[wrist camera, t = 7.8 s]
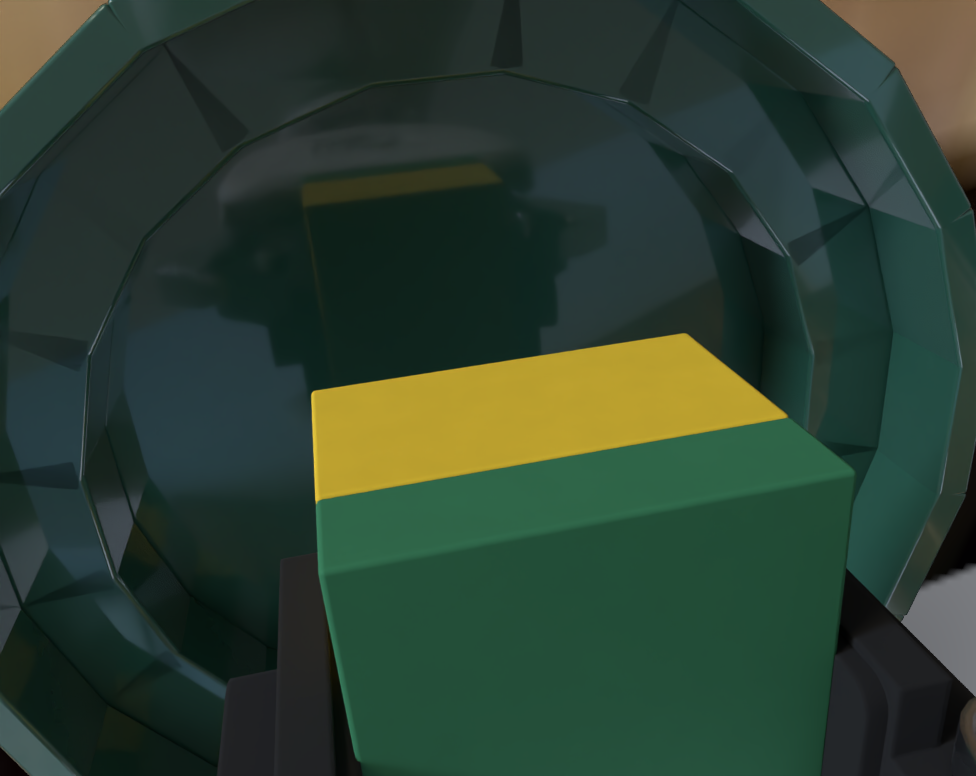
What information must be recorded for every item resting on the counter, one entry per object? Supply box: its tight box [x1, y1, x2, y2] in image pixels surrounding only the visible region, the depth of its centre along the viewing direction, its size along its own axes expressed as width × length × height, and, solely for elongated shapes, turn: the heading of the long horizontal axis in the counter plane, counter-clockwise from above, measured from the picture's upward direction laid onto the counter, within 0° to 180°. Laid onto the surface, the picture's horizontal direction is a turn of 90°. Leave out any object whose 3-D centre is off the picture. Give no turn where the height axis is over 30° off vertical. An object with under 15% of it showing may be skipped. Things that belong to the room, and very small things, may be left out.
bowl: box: [0, 0, 976, 776], centre depth 14 cm, size 16×16×4 cm
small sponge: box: [311, 333, 857, 776], centre depth 10 cm, size 7×4×4 cm, turn 5°
